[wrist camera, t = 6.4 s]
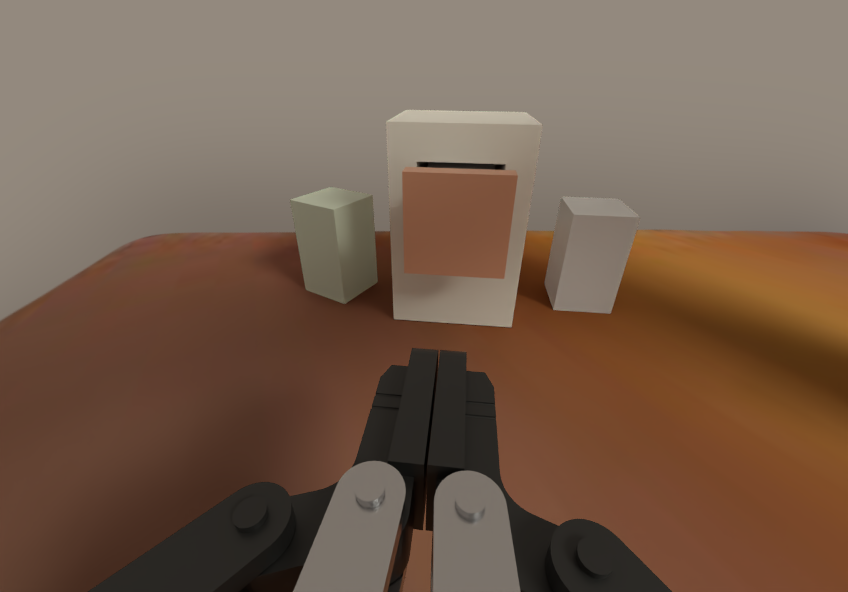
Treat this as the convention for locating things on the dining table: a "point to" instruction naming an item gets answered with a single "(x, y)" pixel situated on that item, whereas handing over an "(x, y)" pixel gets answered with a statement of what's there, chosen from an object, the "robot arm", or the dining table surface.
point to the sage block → (336, 242)
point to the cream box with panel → (460, 143)
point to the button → (457, 219)
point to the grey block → (589, 253)
